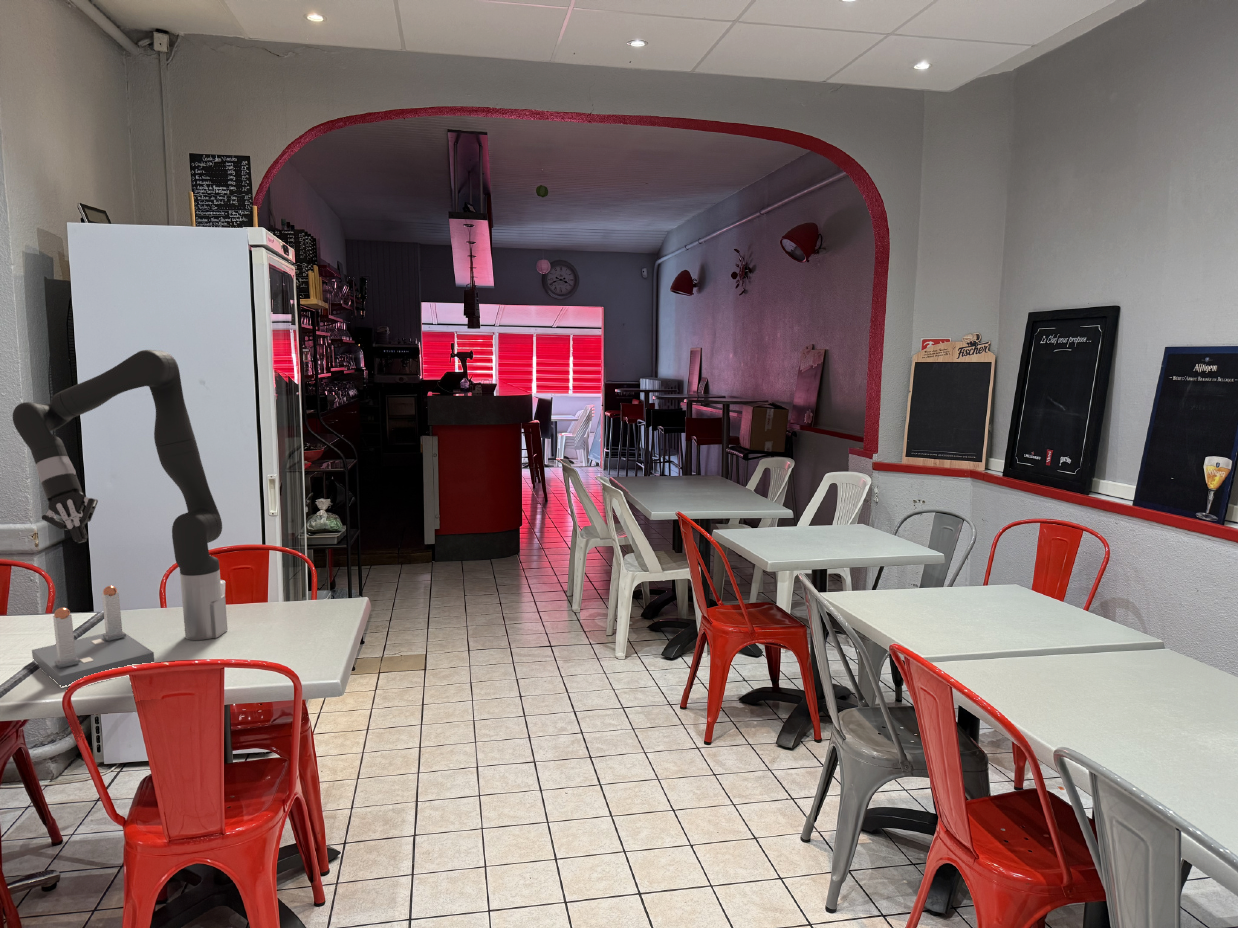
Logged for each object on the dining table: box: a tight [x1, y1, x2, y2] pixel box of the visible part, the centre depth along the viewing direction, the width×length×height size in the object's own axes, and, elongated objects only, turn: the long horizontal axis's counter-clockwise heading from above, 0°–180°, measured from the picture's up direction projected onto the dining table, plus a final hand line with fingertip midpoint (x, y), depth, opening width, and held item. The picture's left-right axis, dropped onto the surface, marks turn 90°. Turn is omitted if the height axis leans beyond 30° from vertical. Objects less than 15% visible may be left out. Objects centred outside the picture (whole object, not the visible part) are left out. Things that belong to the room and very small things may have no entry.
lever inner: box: [101, 585, 127, 641], centre depth 204 cm, size 4×4×13 cm
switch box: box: [31, 632, 155, 687], centre depth 196 cm, size 24×19×3 cm
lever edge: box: [52, 607, 80, 668], centre depth 186 cm, size 4×4×13 cm
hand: (82, 541), depth 203 cm, fingers closed
